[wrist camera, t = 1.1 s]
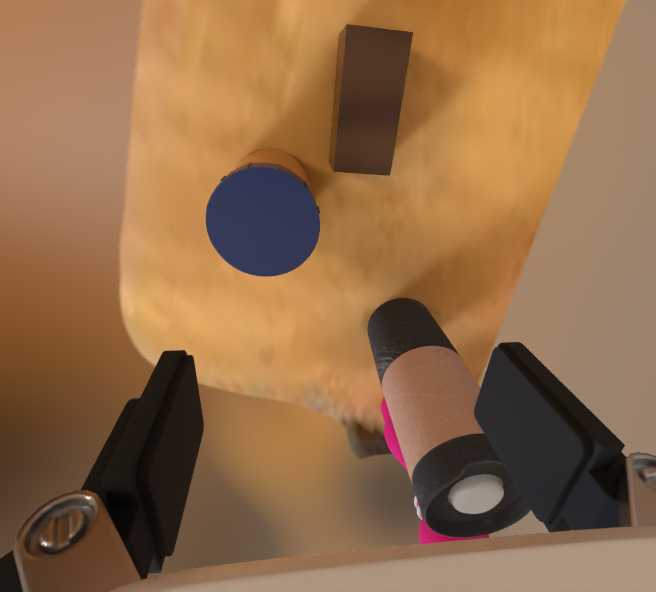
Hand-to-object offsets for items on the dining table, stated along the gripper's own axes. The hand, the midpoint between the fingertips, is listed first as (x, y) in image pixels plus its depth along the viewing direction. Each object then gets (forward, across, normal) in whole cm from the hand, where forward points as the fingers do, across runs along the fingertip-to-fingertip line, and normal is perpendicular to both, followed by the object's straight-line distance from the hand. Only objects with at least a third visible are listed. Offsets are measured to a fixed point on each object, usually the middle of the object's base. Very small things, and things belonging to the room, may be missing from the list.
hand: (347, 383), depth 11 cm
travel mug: (+24, -11, +13) cm, 29 cm away
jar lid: (+14, +3, -1) cm, 14 cm away
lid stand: (+23, -4, -8) cm, 25 cm away
